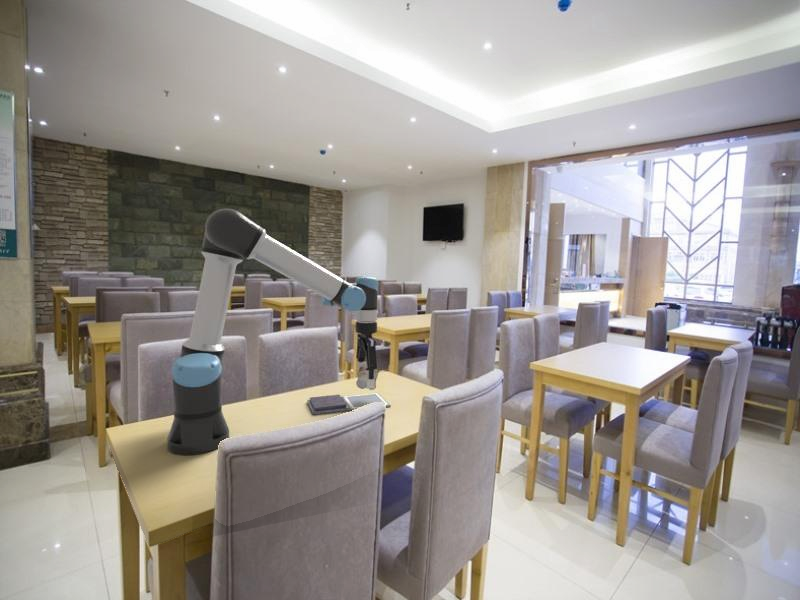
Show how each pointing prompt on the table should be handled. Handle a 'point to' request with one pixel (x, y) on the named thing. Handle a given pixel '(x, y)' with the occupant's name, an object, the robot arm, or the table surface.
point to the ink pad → (327, 404)
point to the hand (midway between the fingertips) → (365, 383)
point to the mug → (364, 378)
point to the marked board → (363, 400)
